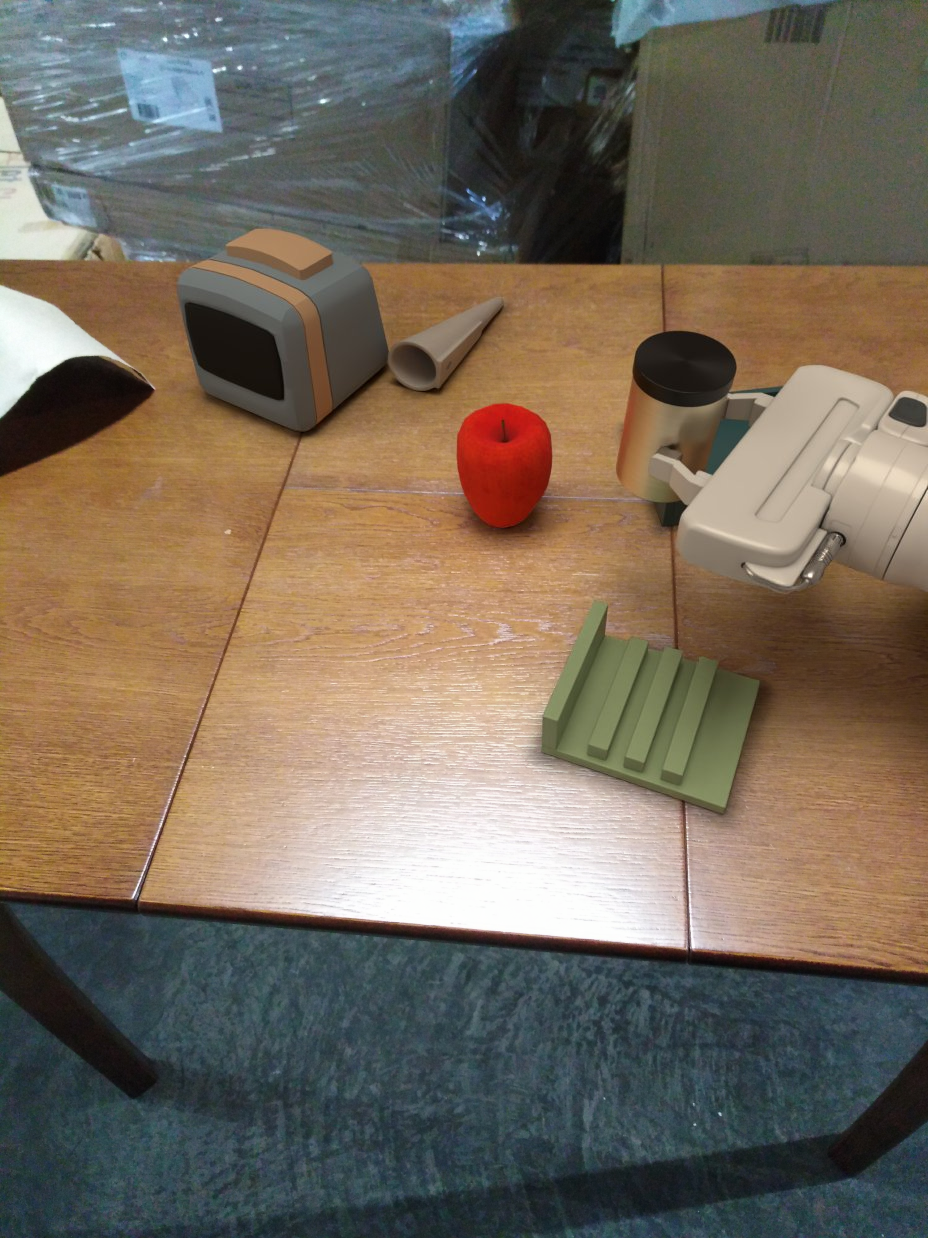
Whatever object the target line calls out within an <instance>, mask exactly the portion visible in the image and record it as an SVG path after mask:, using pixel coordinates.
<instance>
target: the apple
mask: <svg viewBox="0 0 928 1238" xmlns="http://www.w3.org/2000/svg"><path fill="white" fill-rule="evenodd" d="M461 423H462V424H461V426H460V428H459V430H458V433H457V434H456V466H457V468H456V469H457V474H458V477H459V482H460V487H461V489H462V492H463V495H464V497H465V498H466V500H467V502H468V503H469V505H470V507H471V509H472V510H473V511H474V513H475V514H476V515H477V516H478V517H479V519H480V520H481V521H482V522H484V523H485V524H487V525H488V526H490V527H492V528H493V527H494V528H500V529H501V528H502V529H505V528H509V527H515V526H517V525H519V524H520V523H522V522H523V521H524V520H526V519H527V518H528V517H529V515H531V513H532V511H533V510H534V509H535V508H536V506H537V504H538V503H539V502H540V500H541V499H542V498H543V496H544V495H545V493H546V490H547V488H548V487H549V484H550V479H551V474H552V469H553V445H552V442H553V441H552V434H551V430H550V429H549V427H548V424H547V422H546V421H545V420H544V419H543V418H542V417H541V416H540V415H539V414H538V413H536V412H534V411H531V410H530V409H528V408H526V407H524V406H522V405H517V404H513V403H509V402H502V403H492V404H489V405H487V406H483V407H482V408H478V409H476V410H474V411H473V412H471V413H470V414H469V415H467V416H466V417H465V418H464V419H463V421H462V422H461Z"/></svg>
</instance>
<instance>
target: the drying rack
mask: <svg viewBox="0 0 928 1238" xmlns="http://www.w3.org/2000/svg"><path fill="white" fill-rule="evenodd" d="M608 611H609V603H607V602H604V601H600V600H597V599H594V600H593V602H592V604H591V607H590V609H589V611H588V613H587V615H586V617H585V619H584V622H583V624H582V626H581V628H580V630H579V634H578V635H577V638H576V640H575V642H574V644H573V646H572V649H571V652H570V654H569V656H568V658H567V660H566V662H565V664H564V667H563V669H562V670H561V673H560V676H559V678H558V680H557V682H556V685H555V687H554V689H553V692H552V694H551V696H550V697H549V700H548V703H547V705H546V707H545V710H544V712H543V714H542V720H541V722H542V723H541V726H542V727H541V745H540V747H541V753H543V754H546V755H549V756H551V757H555V758H558V759H561V760H564V761H566V762H569V763H573V764H575V765H578V766H581V767H585V768H587V769H589V770H593V771H596V772H598V773H602V774H604V775H608V776H611V777H614V778H616V779H619V780H622V781H624V782H625V781H626V782H628V783H630V784H634V785H636V786H640V787H643V788H646V789H648V790H652V791H655V792H658V793H660V794H664V795H666V796H669V797H672V798H675V799H677V800H680V801H684V802H687V803H690V804H692V805H696V806H699V807H701V808H703V809H707V810H710V811H713V812H715V813H718V814H724V813H725V810H726V807H727V805H728V801H729V797H730V795H731V794H730V793H731V790H732V786H733V782H734V779H735V775H736V771H737V768H738V765H739V761H740V757H741V753H742V751H743V746H744V743H745V738H746V735H747V733H748V728H749V723H750V722H751V717H752V713H753V710H754V706H755V703H756V700H757V695H758V691H759V688H760V684H761V680H759V679H756V678H752V677H748V676H745V675H743V674H739V673H735V672H731V671H728V670H725V669H721V668H718V666H719V662H720V661H718V660H716V659H712V658H709V657H706V656H703V655H699V657H698V661H695V660H691V659H688V658H684V657H683V655H684V651H683V650H681V649H677V648H674V647H671V646H667V645H666V646H664V648H663V651H662V650H661V651H660V650H657V649H654V648H650V647H649V645H650V640H647V639H644V638H640V637H637V636H633V635H631V636H630V639H629V641H626V640H623V639H621V638H616V637H613V636H610V635H607V634H606V630H607V629H606V628H607V620H608V613H609V612H608Z"/></svg>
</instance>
